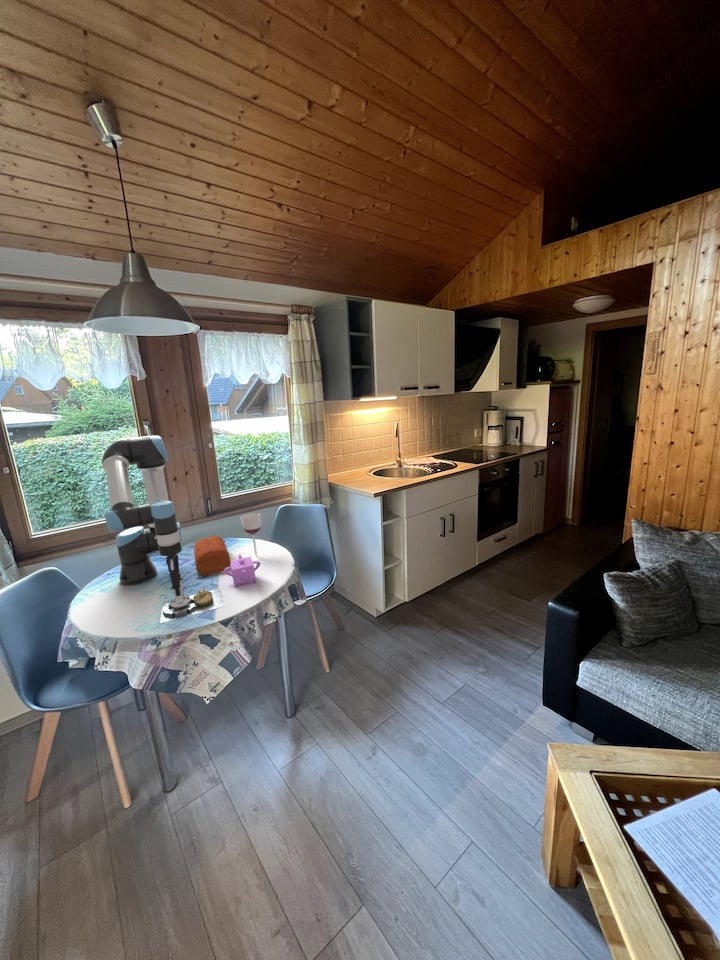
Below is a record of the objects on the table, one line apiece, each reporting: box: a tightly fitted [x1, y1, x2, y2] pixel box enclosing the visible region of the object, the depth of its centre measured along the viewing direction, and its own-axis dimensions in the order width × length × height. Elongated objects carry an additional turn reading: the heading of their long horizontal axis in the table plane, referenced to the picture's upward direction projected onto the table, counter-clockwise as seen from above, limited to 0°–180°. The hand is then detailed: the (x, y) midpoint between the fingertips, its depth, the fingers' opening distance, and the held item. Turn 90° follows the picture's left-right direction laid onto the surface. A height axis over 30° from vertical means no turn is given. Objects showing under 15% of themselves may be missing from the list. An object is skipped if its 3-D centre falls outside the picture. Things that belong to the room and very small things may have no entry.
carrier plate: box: [159, 588, 225, 624], centre depth 150 cm, size 16×22×3 cm
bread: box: [193, 535, 231, 577], centre depth 190 cm, size 16×27×11 cm, turn 25°
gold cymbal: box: [193, 589, 213, 606], centre depth 151 cm, size 7×7×4 cm
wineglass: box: [240, 512, 266, 562], centre depth 192 cm, size 9×10×22 cm
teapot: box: [224, 553, 261, 588], centre depth 167 cm, size 15×13×11 cm
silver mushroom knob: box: [170, 581, 191, 609], centre depth 148 cm, size 7×7×8 cm
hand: (180, 599), depth 148 cm, fingers closed on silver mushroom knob, 3 cm apart
